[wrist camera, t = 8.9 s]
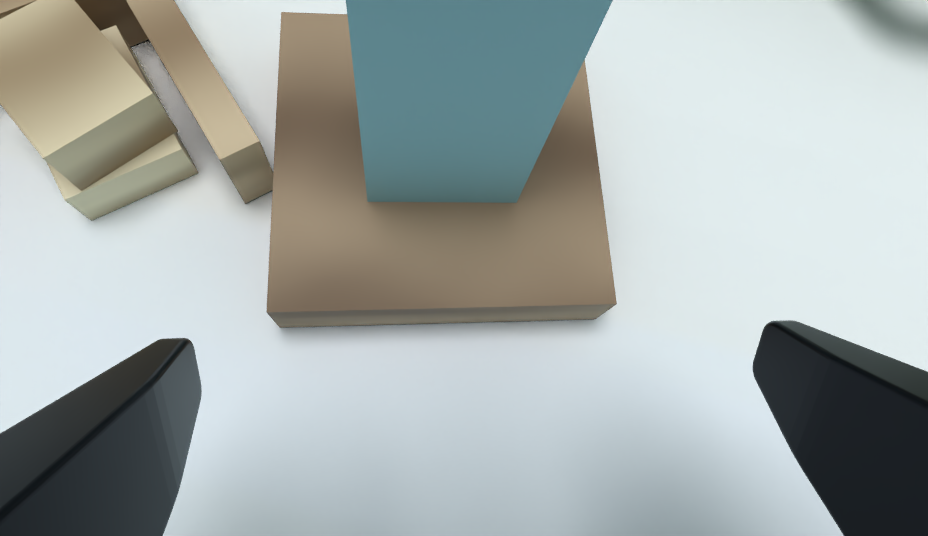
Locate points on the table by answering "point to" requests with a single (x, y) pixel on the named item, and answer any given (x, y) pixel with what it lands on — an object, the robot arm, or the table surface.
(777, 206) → the table surface
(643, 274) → the table surface
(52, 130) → the offcut top
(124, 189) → the offcut low
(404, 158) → the teal block
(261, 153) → the frame
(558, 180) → the base block
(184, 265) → the table surface
